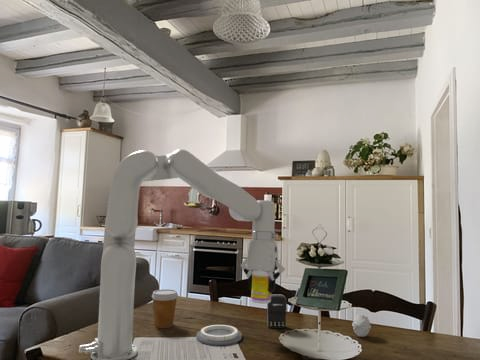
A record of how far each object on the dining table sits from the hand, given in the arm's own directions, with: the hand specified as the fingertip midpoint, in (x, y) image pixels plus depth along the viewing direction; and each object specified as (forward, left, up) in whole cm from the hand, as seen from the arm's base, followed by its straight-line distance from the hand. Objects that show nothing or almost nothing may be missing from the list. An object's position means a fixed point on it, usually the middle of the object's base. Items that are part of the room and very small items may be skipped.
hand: (261, 290), depth 119 cm
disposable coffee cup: (-22, +29, -16) cm, 40 cm away
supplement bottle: (0, 0, -4) cm, 4 cm away
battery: (+12, +6, -16) cm, 20 cm away
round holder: (-11, +8, -15) cm, 21 cm away
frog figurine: (+31, -16, -16) cm, 38 cm away
